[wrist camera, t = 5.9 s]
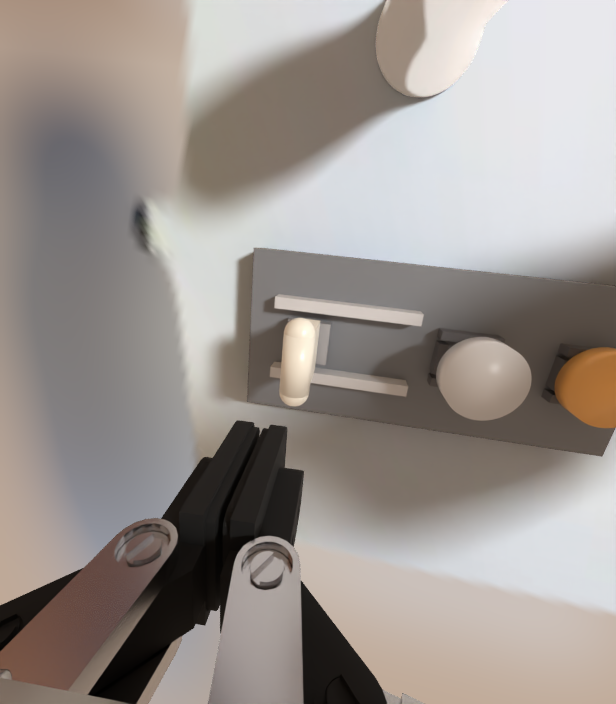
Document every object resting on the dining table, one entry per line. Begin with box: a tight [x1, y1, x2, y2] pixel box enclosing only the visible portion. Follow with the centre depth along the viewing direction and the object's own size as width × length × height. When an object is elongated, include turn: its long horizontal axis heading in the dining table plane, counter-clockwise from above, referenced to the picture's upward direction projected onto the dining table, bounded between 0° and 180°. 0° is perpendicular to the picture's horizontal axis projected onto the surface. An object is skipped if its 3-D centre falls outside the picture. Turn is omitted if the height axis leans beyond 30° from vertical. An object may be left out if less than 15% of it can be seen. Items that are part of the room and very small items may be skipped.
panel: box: [247, 248, 616, 456], centre depth 24 cm, size 27×12×3 cm, turn 84°
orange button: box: [555, 347, 616, 428], centre depth 21 cm, size 5×5×3 cm
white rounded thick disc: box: [436, 337, 532, 421], centre depth 20 cm, size 5×5×3 cm
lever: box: [279, 317, 331, 406], centre depth 21 cm, size 3×5×6 cm, turn 174°
